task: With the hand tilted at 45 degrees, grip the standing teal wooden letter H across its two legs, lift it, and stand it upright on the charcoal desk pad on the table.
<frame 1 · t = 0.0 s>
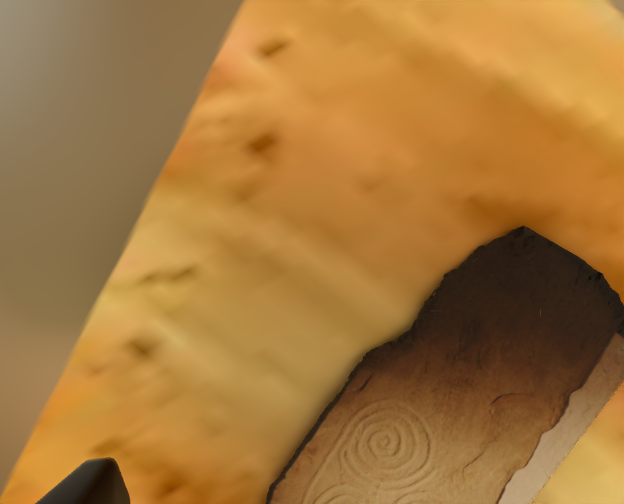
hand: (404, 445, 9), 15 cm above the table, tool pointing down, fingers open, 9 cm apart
parchment: (397, 489, 26), on the table
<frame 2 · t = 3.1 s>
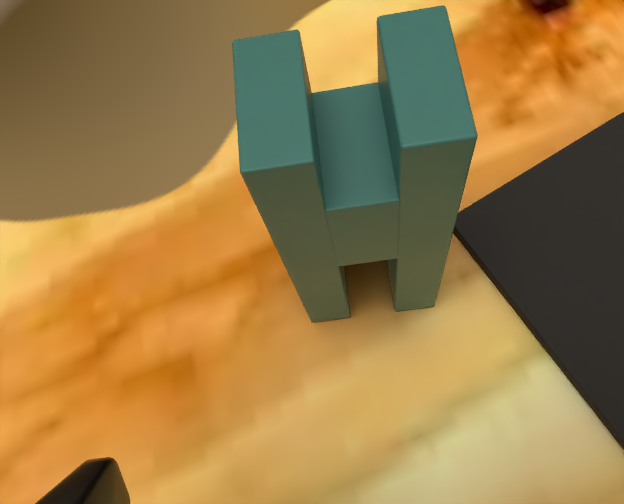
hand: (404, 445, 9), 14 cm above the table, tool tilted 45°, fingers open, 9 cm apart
letter: (366, 273, 24), on the table
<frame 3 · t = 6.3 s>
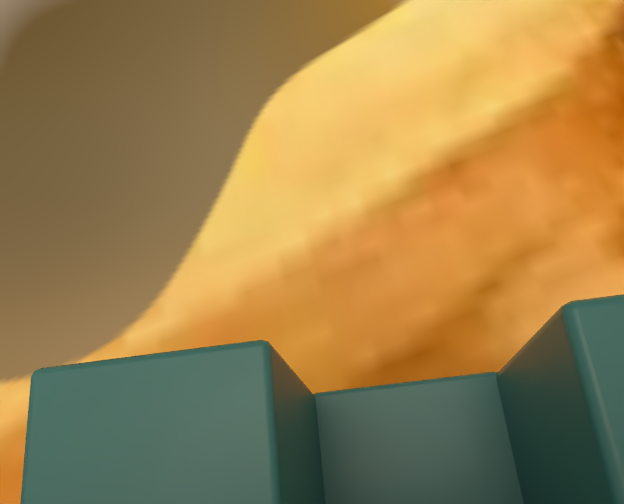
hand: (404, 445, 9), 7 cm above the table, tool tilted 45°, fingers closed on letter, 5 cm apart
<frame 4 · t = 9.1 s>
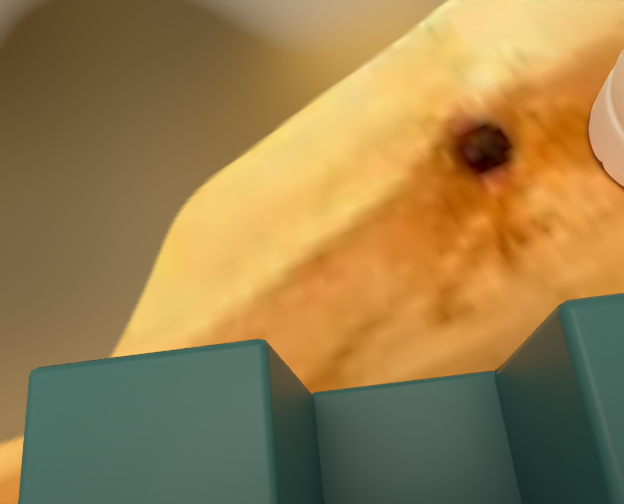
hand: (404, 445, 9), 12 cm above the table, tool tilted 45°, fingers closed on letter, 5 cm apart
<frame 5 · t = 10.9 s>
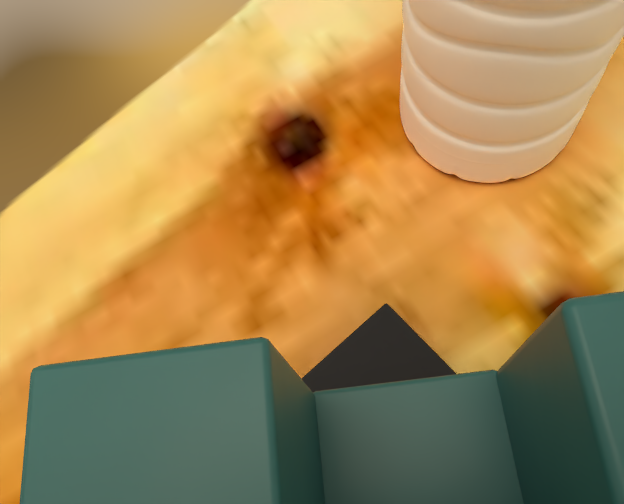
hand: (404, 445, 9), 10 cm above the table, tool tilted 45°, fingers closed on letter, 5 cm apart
water bottle: (465, 133, 22), on the table
when the fingers open (7 cm above the table, at t = 12.2 s): letter stays where it is, resting on desk pad.
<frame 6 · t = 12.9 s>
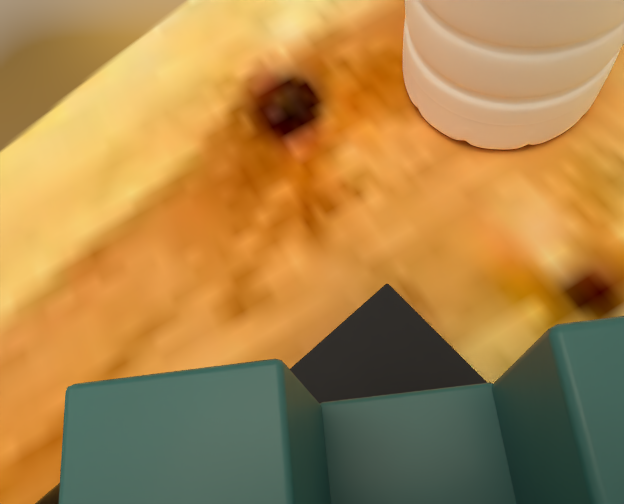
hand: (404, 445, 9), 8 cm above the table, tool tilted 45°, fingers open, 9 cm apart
water bottle: (476, 96, 20), on the table
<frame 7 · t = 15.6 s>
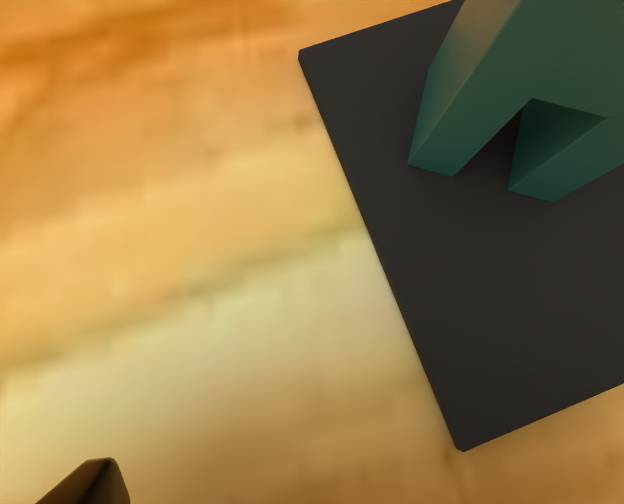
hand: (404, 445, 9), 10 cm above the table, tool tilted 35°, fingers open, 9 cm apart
letter: (489, 134, 20), point 1 cm above the table, touching desk pad
desk pad: (494, 198, 20), on the table
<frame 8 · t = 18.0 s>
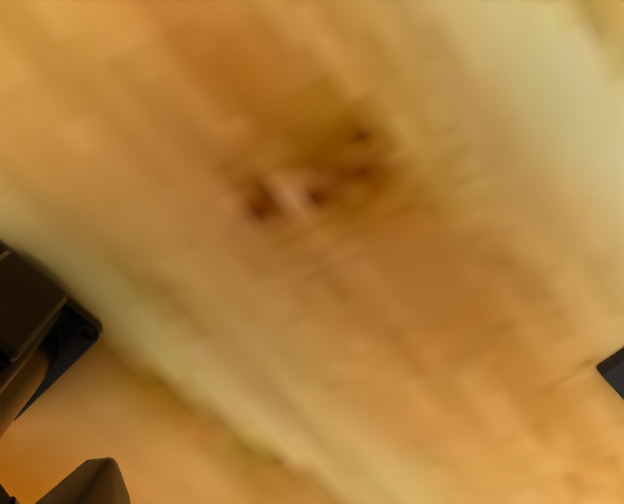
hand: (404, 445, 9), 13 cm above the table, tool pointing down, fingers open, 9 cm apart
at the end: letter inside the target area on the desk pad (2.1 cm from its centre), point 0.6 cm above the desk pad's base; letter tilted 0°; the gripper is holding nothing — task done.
